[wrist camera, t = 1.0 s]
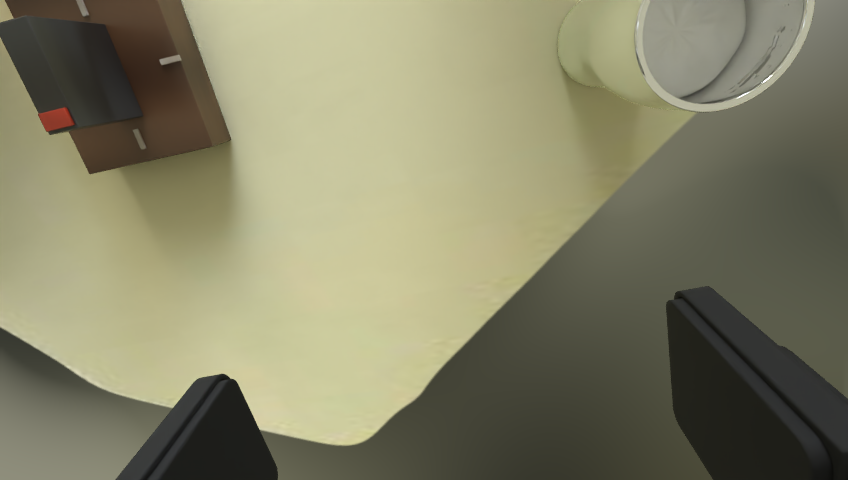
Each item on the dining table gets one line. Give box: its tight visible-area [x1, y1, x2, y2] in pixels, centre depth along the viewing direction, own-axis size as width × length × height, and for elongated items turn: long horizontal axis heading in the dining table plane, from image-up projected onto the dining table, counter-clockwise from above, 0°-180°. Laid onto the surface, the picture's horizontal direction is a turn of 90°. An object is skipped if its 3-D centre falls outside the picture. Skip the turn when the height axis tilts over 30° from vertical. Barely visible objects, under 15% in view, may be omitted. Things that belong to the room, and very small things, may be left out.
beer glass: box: [557, 0, 815, 112], centre depth 24 cm, size 7×7×15 cm
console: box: [5, 0, 231, 174], centre depth 32 cm, size 12×10×3 cm
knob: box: [0, 16, 143, 135], centre depth 28 cm, size 6×2×6 cm, turn 12°
